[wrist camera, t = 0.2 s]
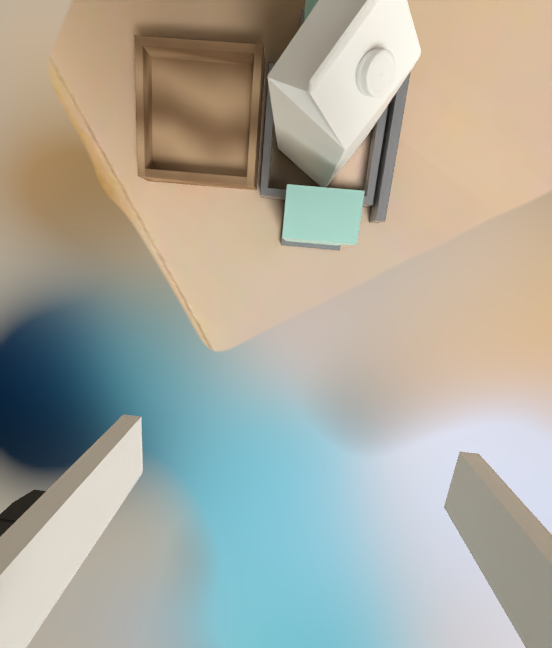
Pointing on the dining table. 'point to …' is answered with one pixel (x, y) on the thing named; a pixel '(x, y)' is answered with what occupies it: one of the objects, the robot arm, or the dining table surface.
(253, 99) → the tray
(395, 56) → the milk carton
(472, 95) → the dining table surface
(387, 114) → the holder
